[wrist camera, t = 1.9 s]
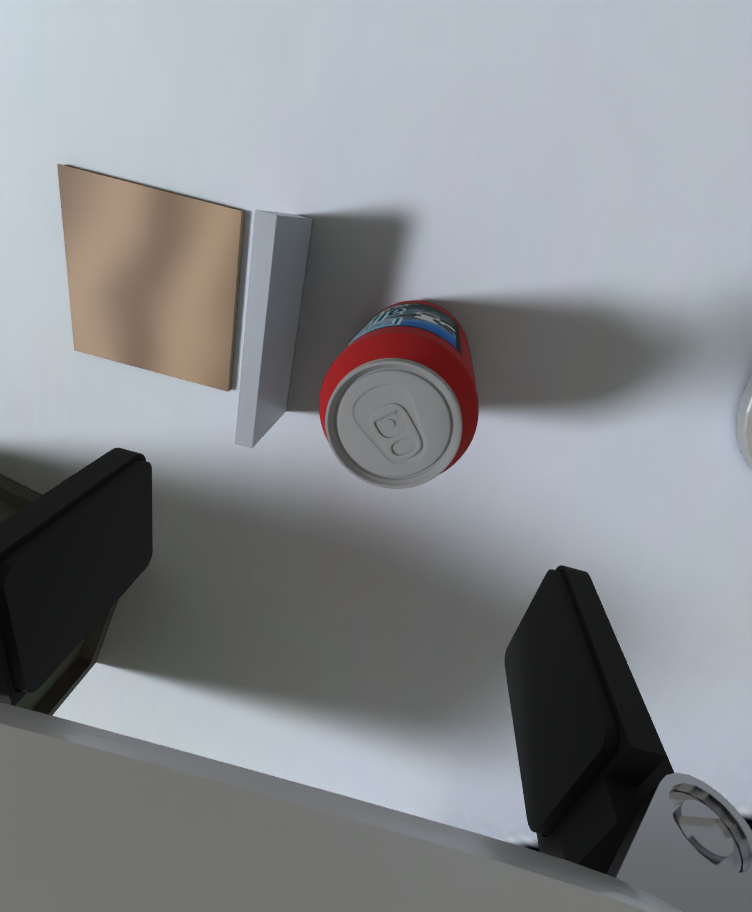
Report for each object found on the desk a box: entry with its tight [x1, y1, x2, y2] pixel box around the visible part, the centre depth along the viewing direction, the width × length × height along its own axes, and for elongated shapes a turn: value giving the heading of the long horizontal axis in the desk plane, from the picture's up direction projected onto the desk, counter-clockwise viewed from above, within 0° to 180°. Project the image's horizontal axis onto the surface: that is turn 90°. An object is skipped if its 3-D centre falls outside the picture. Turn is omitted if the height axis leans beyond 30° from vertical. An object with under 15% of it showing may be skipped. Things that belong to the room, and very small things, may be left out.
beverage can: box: [319, 301, 479, 489], centre depth 23 cm, size 7×7×12 cm
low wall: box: [235, 210, 313, 448], centre depth 26 cm, size 1×12×6 cm, turn 167°
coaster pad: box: [57, 164, 244, 391], centre depth 28 cm, size 11×11×1 cm
